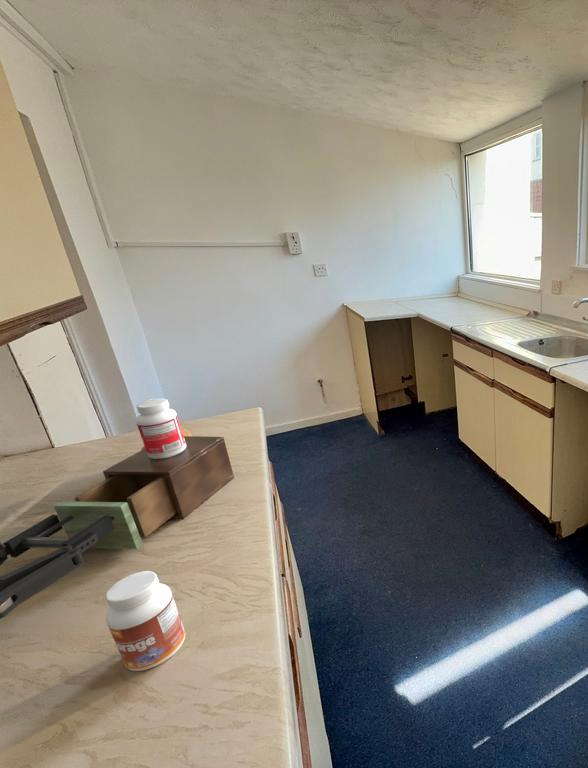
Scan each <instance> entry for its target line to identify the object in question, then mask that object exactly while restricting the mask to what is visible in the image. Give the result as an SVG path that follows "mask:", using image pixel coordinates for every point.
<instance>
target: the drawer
mask: <svg viewBox="0 0 588 768" xmlns="http://www.w3.org/2000/svg"><path fill="white" fill-rule="evenodd" d="M53 508H54V510H55V512H56V515H57V516H58V518H59V520H60V521H59V522H58V523H56V524H54V525H53V526H51V527H49V528H48V529H46V530H44V531H43V532H41V533H39V534H38V535H36V536H34V537H26V538H24V539H23V540H22V541H21V543H20V546H21V547H22V548H31V549H56V550H58V549H60V548H62V547H63V546H62V543H64V542H65V541H67V540H68V539H70V538H71V537H73V536H74V535H76V534H77V533H79V532H81V531H82V530H84V529H85V528H87V527H88V526H90V525H91V524H93V523H94V522H96V521H97V520H99V519H100V518H102V517H103V516H110V518H111V521H112V523H113V526H114V528H115V529H114V530H113V531H111V532H110V533H109V534H107V535H106V536H104V537H103V538H101V539H100V540H99V541H98V542H97V543H95V544H94V545H93V546H91V547H90V548H89V549H109V550H110V549H112V550H113V549H117V550H119V549H120V550H121V549H122V550H137V549H139V548H141V546H142V545H143V544H144V543H143V540H142V538H147V537H148V536H149V535H150V534H151V533H153V532H154V531H155V530H157V529H158V528H159V527H161V526H162V525H163V524H164V523H166V522H167V521H168V520H170V519H169V518H171V517H172V516H173V515H175V514H176V513H177V512H178V511H177V508H176V505H175V502H174V499H173V496H172V493H171V490H170V487H169V484H168V481H167V478H166V476H159V475H113V476H111V477H110V478H108V479H105V480H102V481H100V482H99V483H97V484H96V485H94V486H92V487H90V488H88V489H87V490H84V491H83V492H82V493H80V494H78V495H75V496H74V501H63V500H62V501H59V502H57V503H55V504H53ZM60 526H62V527H63V530H64V532H65V534H66V537H65V536H64V537H63V536H50V537H44V536H46V535H47V534H49V533H51V532H52V531H54V530H56V529H57V528H59V527H60Z"/></svg>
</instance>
